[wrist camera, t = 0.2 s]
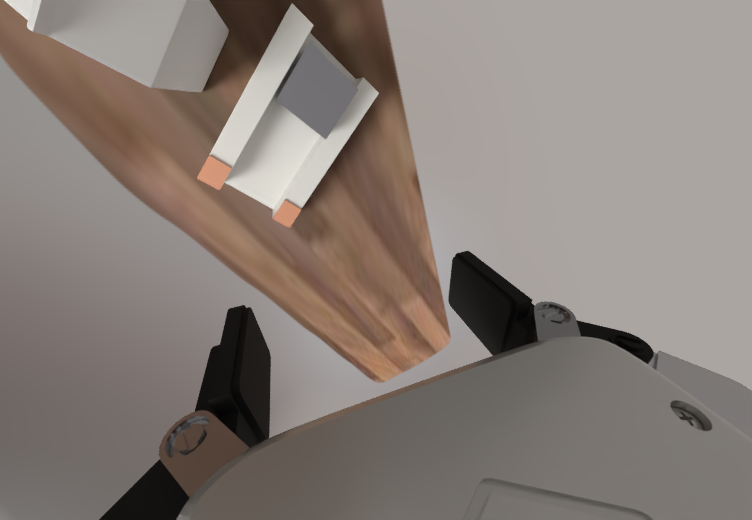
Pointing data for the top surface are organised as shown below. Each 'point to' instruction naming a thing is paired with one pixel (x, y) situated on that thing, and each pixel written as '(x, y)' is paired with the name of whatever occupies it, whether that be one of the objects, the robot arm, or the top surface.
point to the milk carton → (136, 36)
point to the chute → (281, 130)
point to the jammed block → (317, 92)
